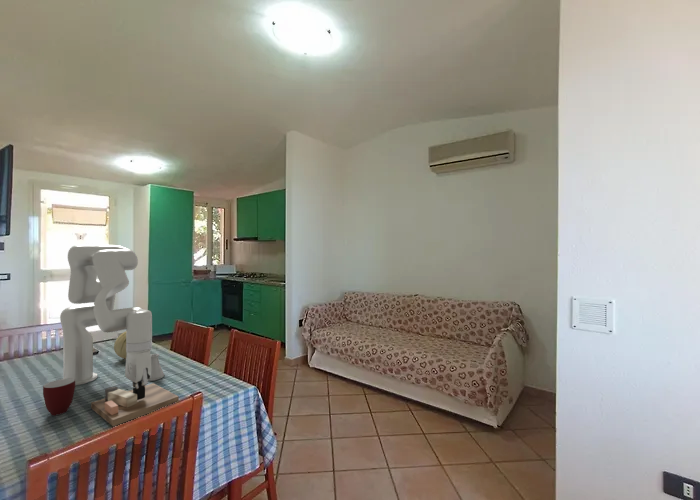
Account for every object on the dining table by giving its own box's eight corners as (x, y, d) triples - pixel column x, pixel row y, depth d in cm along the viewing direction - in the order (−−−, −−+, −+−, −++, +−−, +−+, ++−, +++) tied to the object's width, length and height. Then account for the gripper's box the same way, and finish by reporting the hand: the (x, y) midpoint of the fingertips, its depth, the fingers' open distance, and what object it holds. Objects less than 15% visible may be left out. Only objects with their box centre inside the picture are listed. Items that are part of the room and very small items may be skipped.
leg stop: (104, 409, 106) (104, 402, 106) (111, 407, 108) (111, 400, 108) (111, 415, 103) (111, 407, 103) (118, 412, 104) (118, 405, 104)
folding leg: (102, 400, 113) (102, 389, 113) (114, 395, 116) (114, 385, 116) (126, 408, 107) (126, 397, 107) (137, 403, 110) (137, 392, 110)
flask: (155, 382, 134) (155, 358, 134) (140, 380, 135) (140, 357, 135) (168, 375, 141) (168, 352, 141) (154, 374, 142) (154, 351, 142)
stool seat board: (91, 408, 111) (91, 402, 111) (153, 388, 127) (153, 383, 127) (112, 426, 100) (113, 420, 100) (178, 401, 116) (178, 396, 116)
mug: (38, 412, 109) (38, 382, 109) (69, 402, 115) (69, 375, 116) (46, 421, 103) (46, 390, 103) (78, 411, 109) (78, 381, 109)
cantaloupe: (109, 359, 162) (109, 330, 162) (141, 352, 174) (141, 324, 174) (121, 365, 153) (121, 334, 154) (154, 357, 165) (154, 328, 166)
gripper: (118, 344, 113) (118, 396, 113) (136, 352, 105) (136, 409, 105) (141, 340, 120) (141, 389, 120) (160, 347, 111) (160, 400, 111)
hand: (139, 398), depth 112 cm, fingers closed
